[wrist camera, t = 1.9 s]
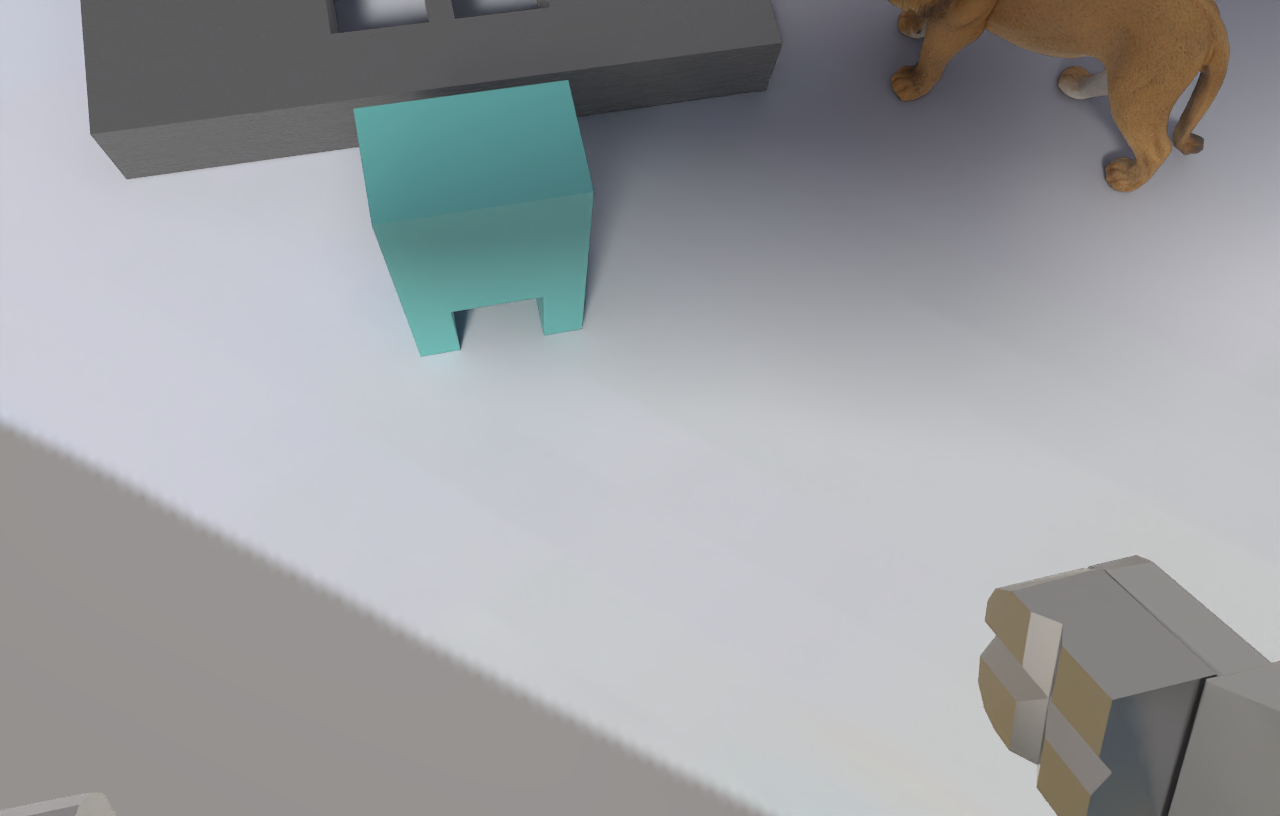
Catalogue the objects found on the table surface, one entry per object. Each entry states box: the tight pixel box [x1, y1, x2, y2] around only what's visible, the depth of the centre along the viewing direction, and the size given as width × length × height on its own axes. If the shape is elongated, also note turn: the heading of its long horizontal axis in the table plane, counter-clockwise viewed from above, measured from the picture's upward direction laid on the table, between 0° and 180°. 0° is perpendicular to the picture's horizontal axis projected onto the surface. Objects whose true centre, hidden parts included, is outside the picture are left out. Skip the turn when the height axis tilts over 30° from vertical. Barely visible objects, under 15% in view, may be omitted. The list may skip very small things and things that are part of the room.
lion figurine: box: [888, 0, 1230, 192], centre depth 30 cm, size 15×5×9 cm, turn 74°
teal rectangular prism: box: [353, 80, 594, 356], centre depth 26 cm, size 5×3×8 cm, turn 102°
